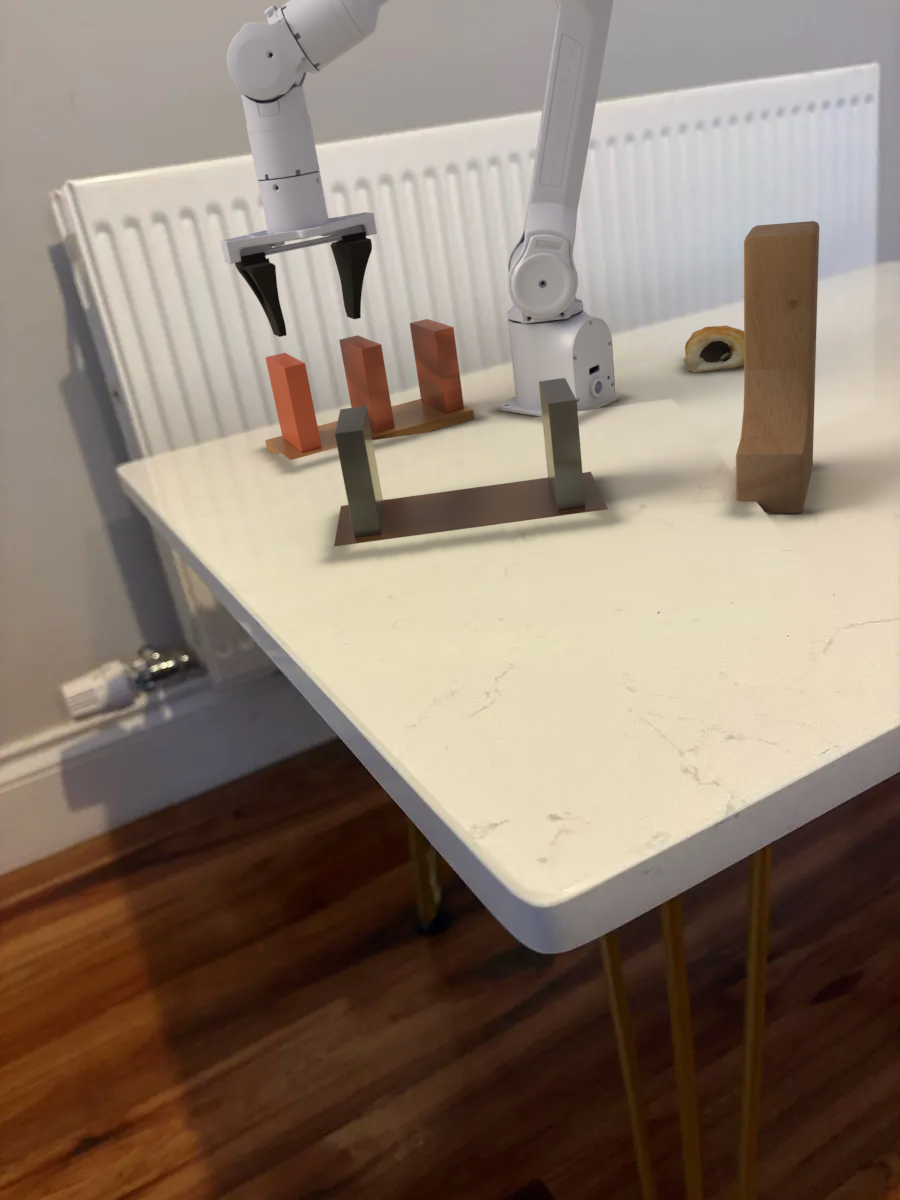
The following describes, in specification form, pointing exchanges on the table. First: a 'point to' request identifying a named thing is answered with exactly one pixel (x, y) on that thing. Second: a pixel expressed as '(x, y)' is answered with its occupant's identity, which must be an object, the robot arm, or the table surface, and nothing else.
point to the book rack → (371, 389)
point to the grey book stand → (473, 505)
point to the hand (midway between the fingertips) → (317, 326)
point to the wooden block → (778, 365)
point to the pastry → (715, 349)
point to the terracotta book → (293, 401)
